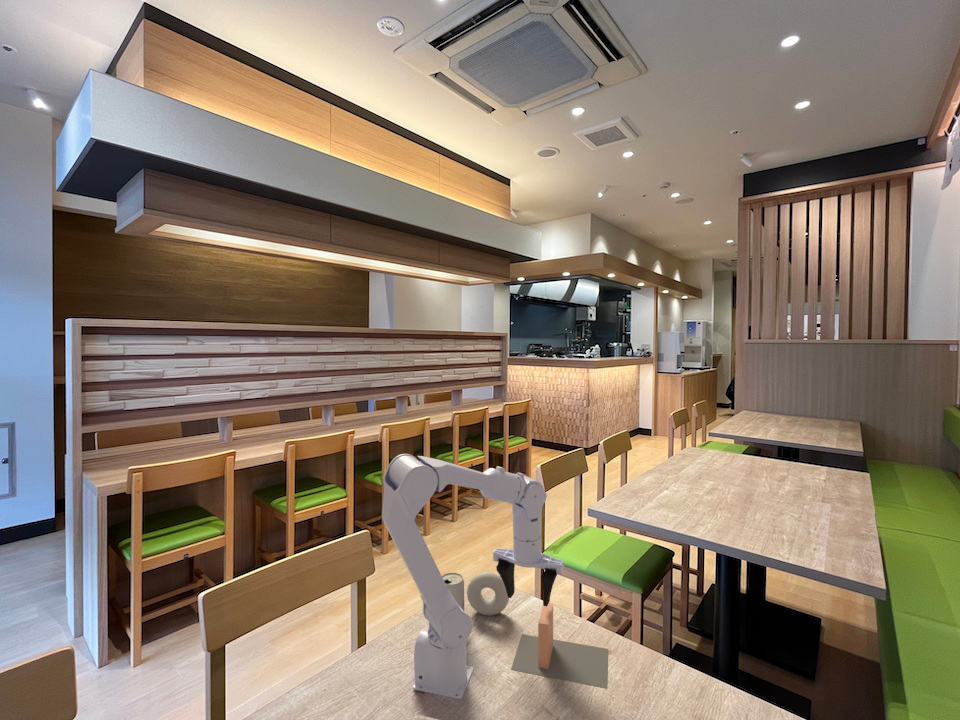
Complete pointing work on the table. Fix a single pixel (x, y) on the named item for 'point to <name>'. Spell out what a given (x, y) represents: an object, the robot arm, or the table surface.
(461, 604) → the energy drink
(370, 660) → the table surface
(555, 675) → the mat
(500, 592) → the donut
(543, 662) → the tile
